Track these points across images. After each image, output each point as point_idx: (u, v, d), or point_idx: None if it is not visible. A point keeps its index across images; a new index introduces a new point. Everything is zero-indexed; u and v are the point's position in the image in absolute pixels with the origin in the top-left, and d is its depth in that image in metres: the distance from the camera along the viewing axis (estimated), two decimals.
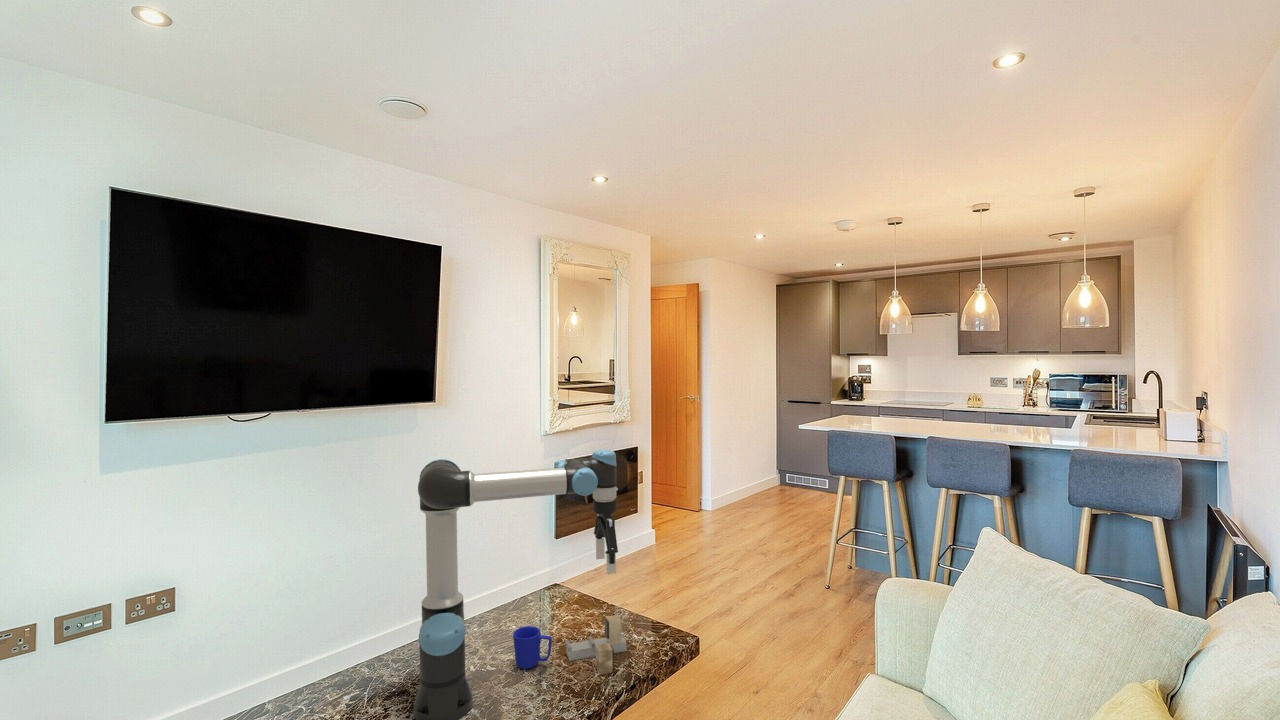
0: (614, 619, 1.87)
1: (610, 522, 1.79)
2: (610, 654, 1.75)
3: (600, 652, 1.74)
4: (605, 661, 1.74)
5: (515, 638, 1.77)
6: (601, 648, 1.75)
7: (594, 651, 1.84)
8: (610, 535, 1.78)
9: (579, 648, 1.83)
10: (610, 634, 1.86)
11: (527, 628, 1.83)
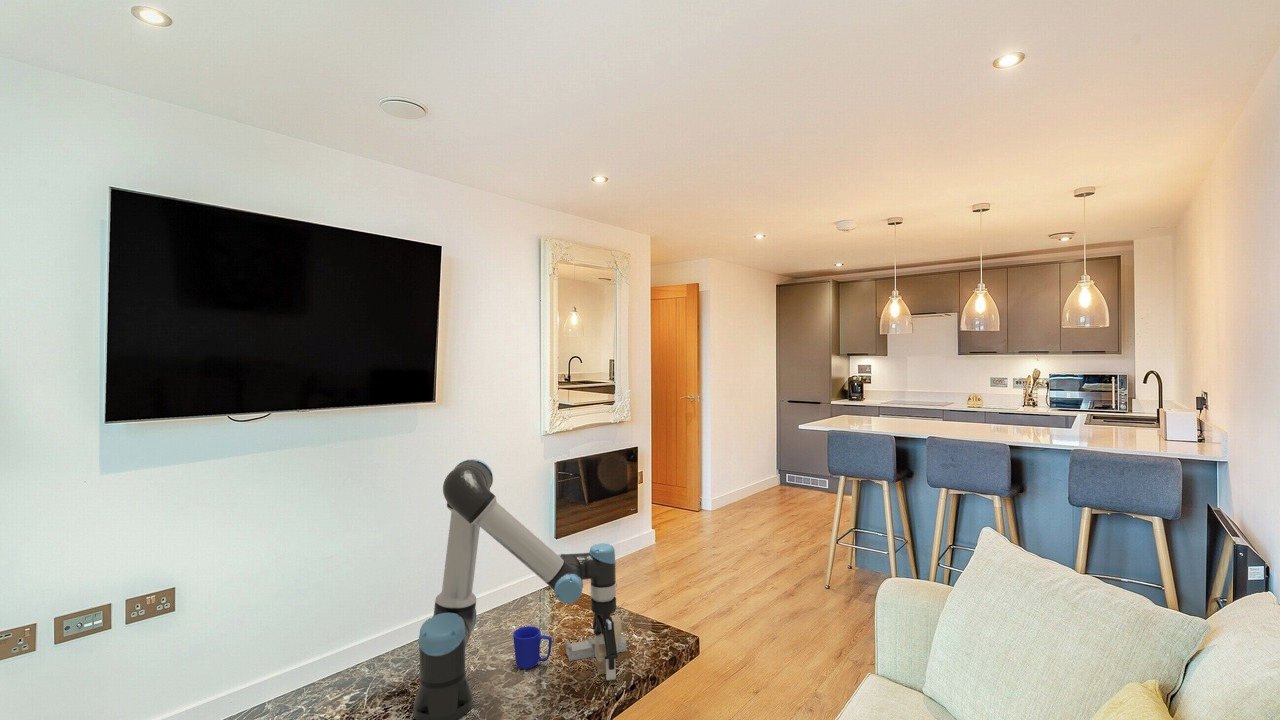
0: (614, 619, 1.87)
1: (609, 625, 1.69)
2: None
3: (600, 652, 1.74)
4: (605, 661, 1.74)
5: (515, 638, 1.77)
6: (601, 648, 1.75)
7: (594, 651, 1.84)
8: (609, 639, 1.68)
9: (579, 648, 1.83)
10: None
11: (527, 628, 1.83)
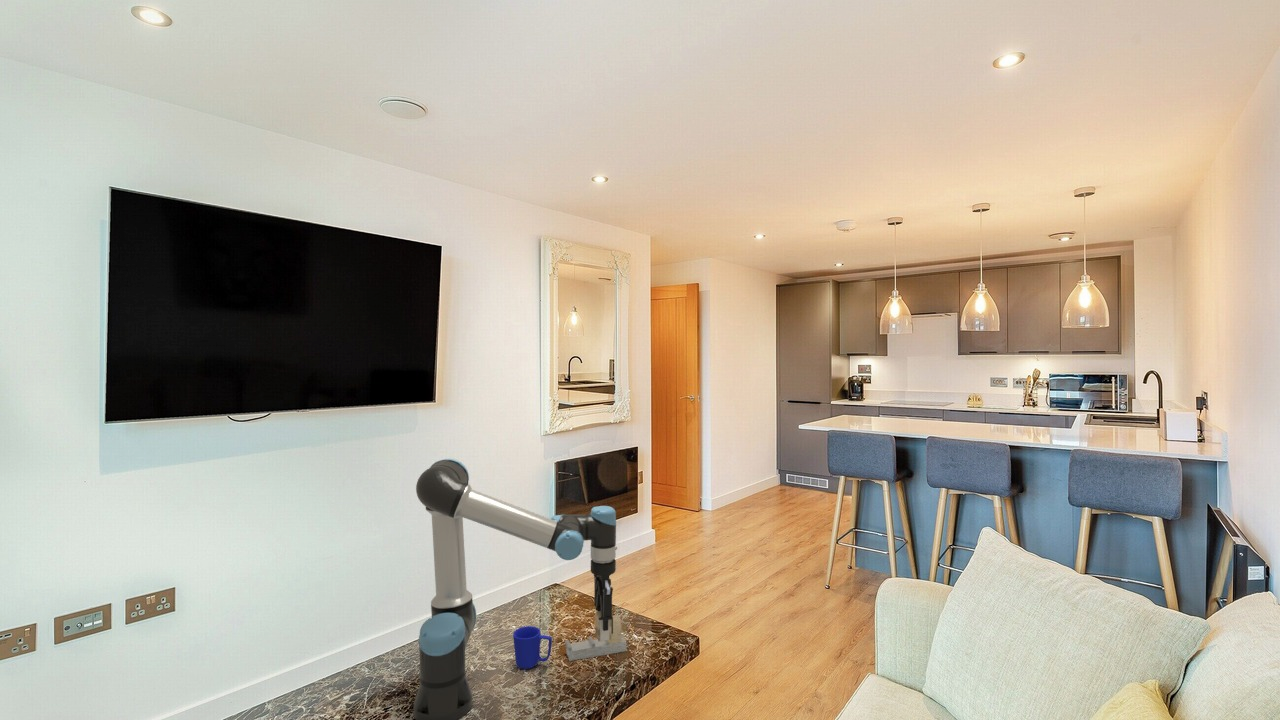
0: (614, 619, 1.87)
1: (608, 592, 1.70)
2: (609, 621, 1.74)
3: None
4: None
5: (515, 638, 1.77)
6: (600, 615, 1.75)
7: (594, 651, 1.84)
8: (606, 603, 1.70)
9: (579, 648, 1.83)
10: None
11: (527, 628, 1.83)
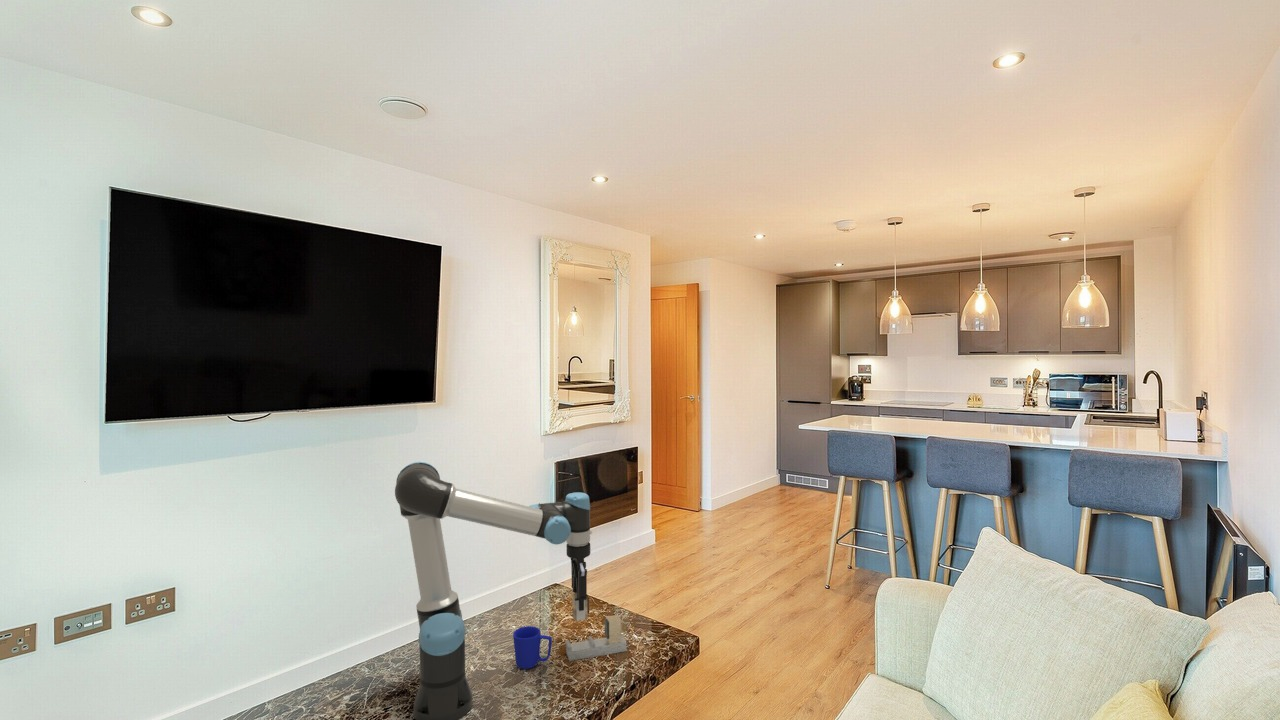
0: (614, 619, 1.87)
1: (583, 573, 1.78)
2: (585, 601, 1.83)
3: None
4: None
5: (515, 638, 1.77)
6: None
7: (594, 651, 1.84)
8: (581, 584, 1.79)
9: (579, 648, 1.83)
10: (610, 634, 1.86)
11: (527, 628, 1.83)
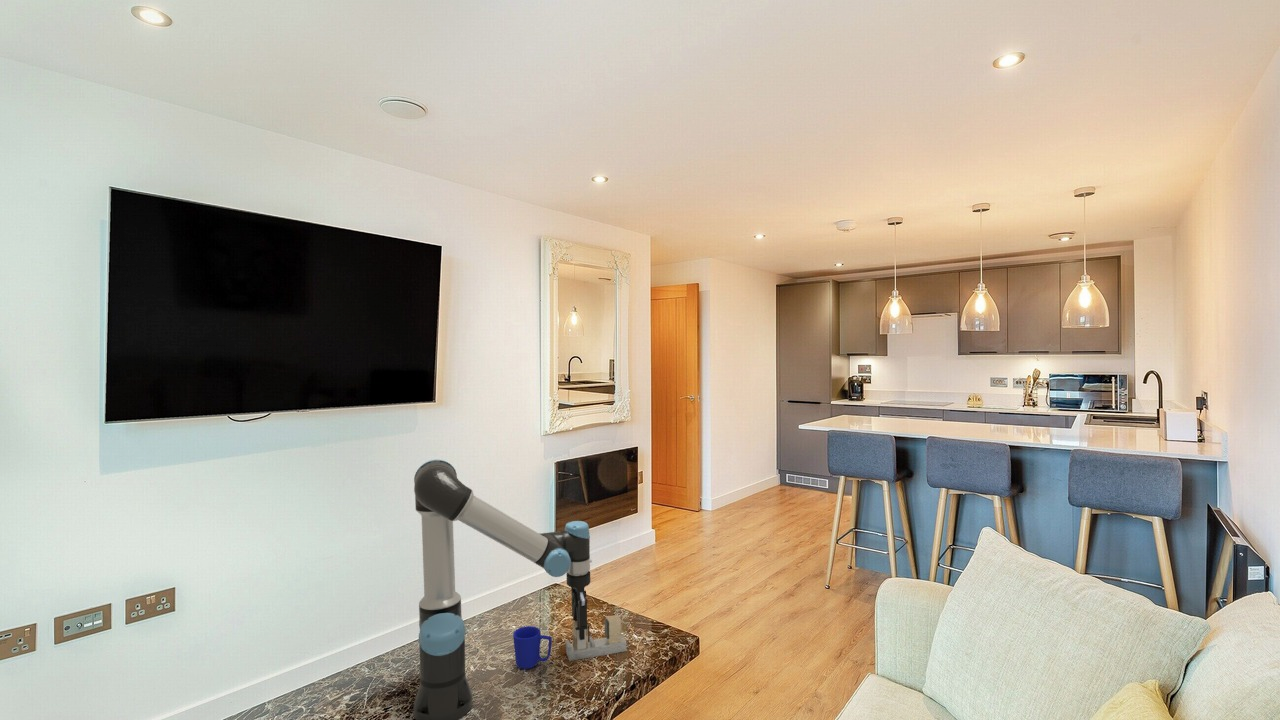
0: (614, 619, 1.87)
1: (583, 603, 1.79)
2: (586, 630, 1.83)
3: None
4: None
5: (515, 638, 1.77)
6: None
7: (594, 651, 1.84)
8: (581, 614, 1.79)
9: None
10: (610, 634, 1.86)
11: (527, 628, 1.83)
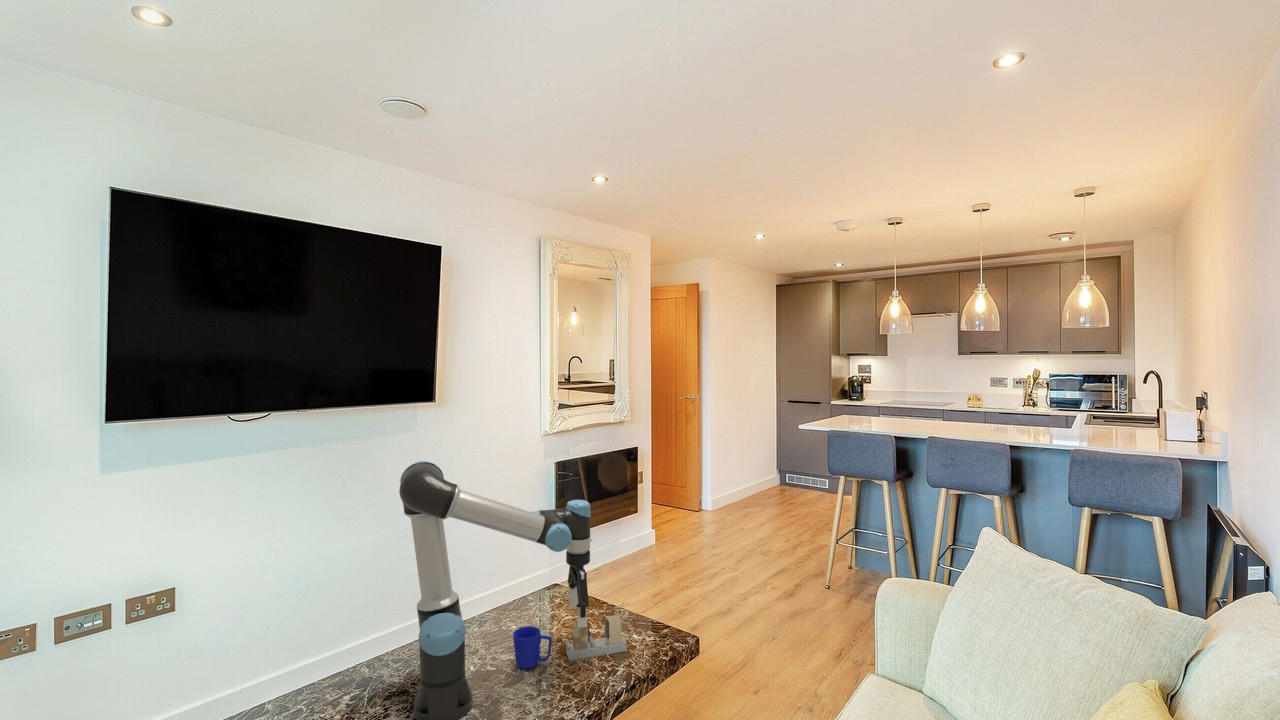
0: (614, 619, 1.87)
1: (582, 575, 1.78)
2: (586, 630, 1.83)
3: (576, 628, 1.82)
4: (581, 637, 1.83)
5: (515, 638, 1.77)
6: None
7: (594, 651, 1.84)
8: (581, 588, 1.77)
9: None
10: (610, 634, 1.86)
11: (527, 628, 1.83)
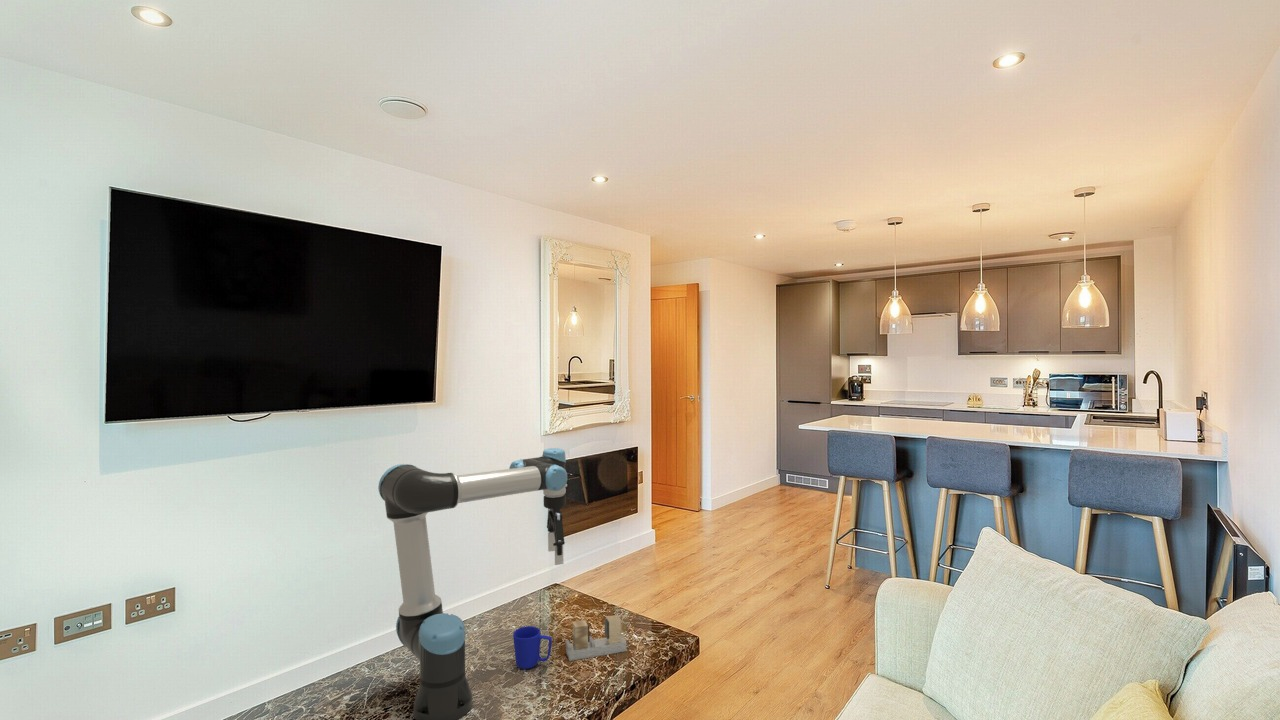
0: (614, 619, 1.87)
1: (558, 516, 1.91)
2: (586, 630, 1.83)
3: (576, 628, 1.82)
4: (581, 637, 1.83)
5: (515, 638, 1.77)
6: (577, 624, 1.84)
7: (594, 651, 1.84)
8: (557, 528, 1.89)
9: None
10: (610, 634, 1.86)
11: (527, 628, 1.83)
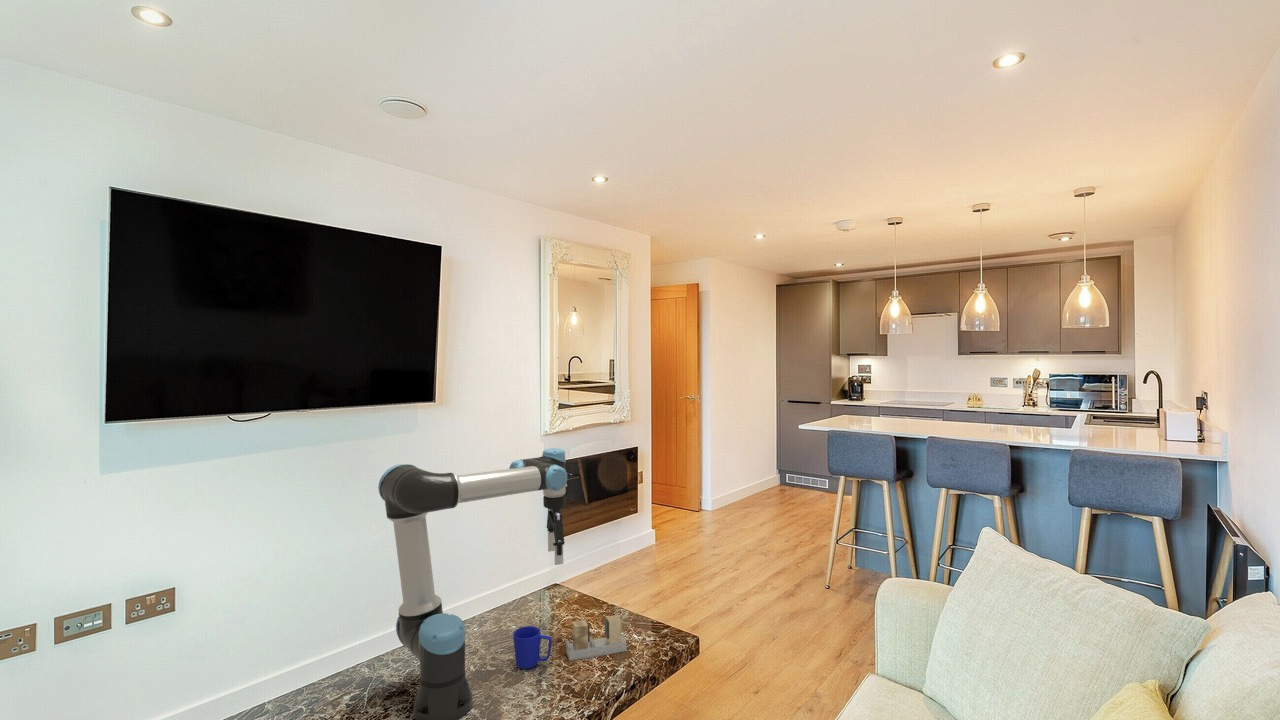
0: (614, 619, 1.87)
1: (558, 516, 1.91)
2: (586, 630, 1.83)
3: (576, 628, 1.82)
4: (581, 637, 1.83)
5: (515, 638, 1.77)
6: (577, 624, 1.84)
7: (594, 651, 1.84)
8: (557, 528, 1.89)
9: None
10: (610, 634, 1.86)
11: (527, 628, 1.83)
